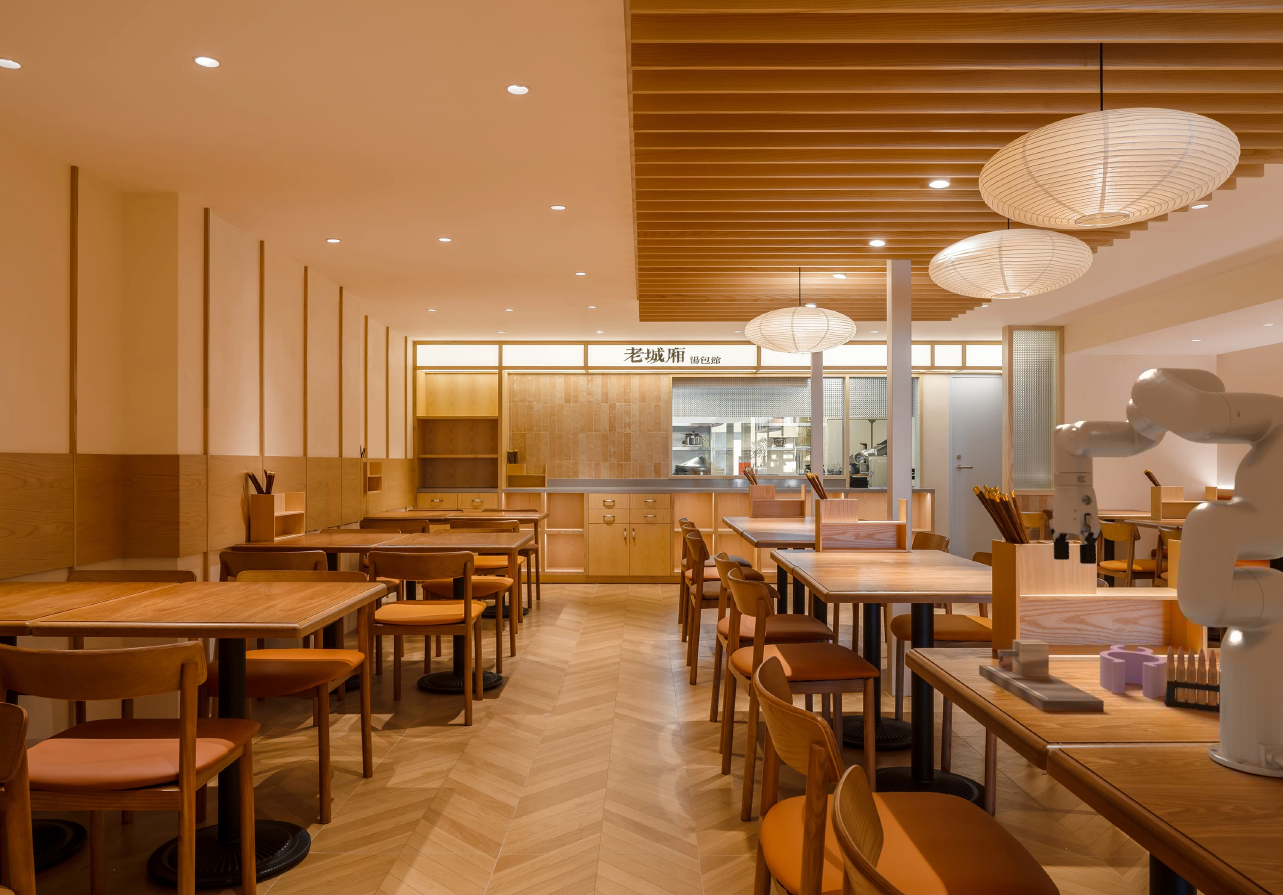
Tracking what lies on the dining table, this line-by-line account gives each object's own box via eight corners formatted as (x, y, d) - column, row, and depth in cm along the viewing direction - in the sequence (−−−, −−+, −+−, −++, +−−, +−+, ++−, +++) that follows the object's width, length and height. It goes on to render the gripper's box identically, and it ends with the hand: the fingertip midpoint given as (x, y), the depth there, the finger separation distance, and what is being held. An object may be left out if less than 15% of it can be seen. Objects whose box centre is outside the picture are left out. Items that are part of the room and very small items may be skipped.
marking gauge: (1048, 676, 178) (1048, 643, 178) (1003, 675, 178) (1003, 643, 178) (1039, 671, 182) (1039, 639, 182) (994, 671, 182) (994, 639, 182)
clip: (1099, 672, 191) (1099, 642, 191) (1163, 680, 185) (1163, 649, 185) (1099, 693, 173) (1099, 660, 173) (1169, 701, 167) (1169, 667, 167)
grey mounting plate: (1103, 711, 160) (1103, 685, 160) (1043, 710, 159) (1043, 684, 159) (1030, 674, 188) (1030, 652, 188) (979, 673, 187) (979, 651, 187)
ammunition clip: (1165, 706, 164) (1165, 645, 164) (1164, 703, 165) (1164, 644, 166) (1230, 713, 159) (1230, 651, 159) (1228, 711, 161) (1228, 649, 161)
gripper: (1115, 481, 168) (1116, 565, 167) (1067, 482, 185) (1068, 558, 185) (1079, 481, 168) (1081, 565, 167) (1034, 481, 185) (1036, 558, 184)
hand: (1074, 561), depth 176 cm, fingers open, 9 cm apart
